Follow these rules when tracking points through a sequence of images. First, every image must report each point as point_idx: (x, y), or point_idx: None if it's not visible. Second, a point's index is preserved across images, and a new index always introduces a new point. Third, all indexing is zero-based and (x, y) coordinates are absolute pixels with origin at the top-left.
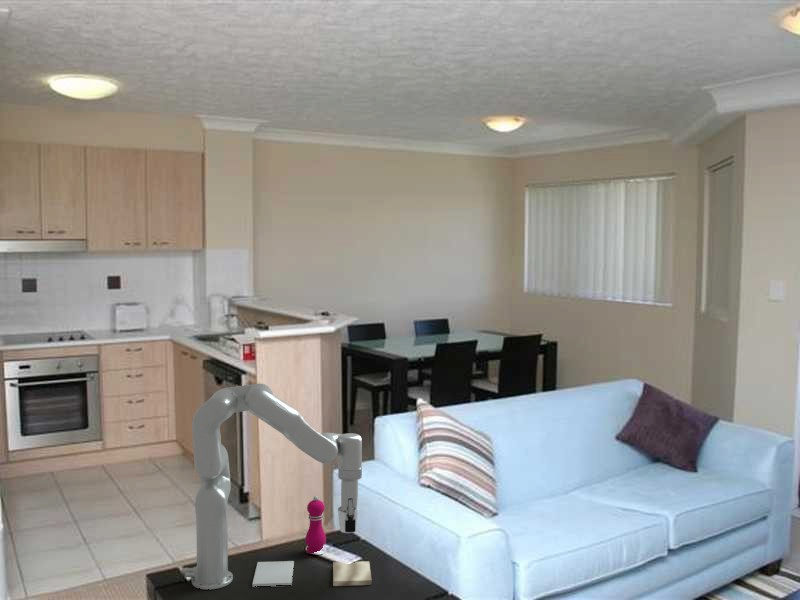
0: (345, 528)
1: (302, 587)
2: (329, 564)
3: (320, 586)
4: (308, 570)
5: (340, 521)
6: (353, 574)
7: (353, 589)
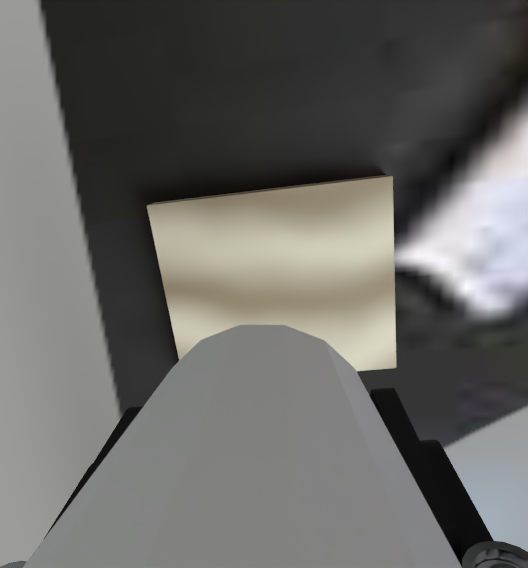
0: (114, 435)
1: (114, 26)
2: (418, 149)
3: (142, 134)
4: (339, 23)
5: (139, 421)
6: (237, 301)
7: (135, 300)
